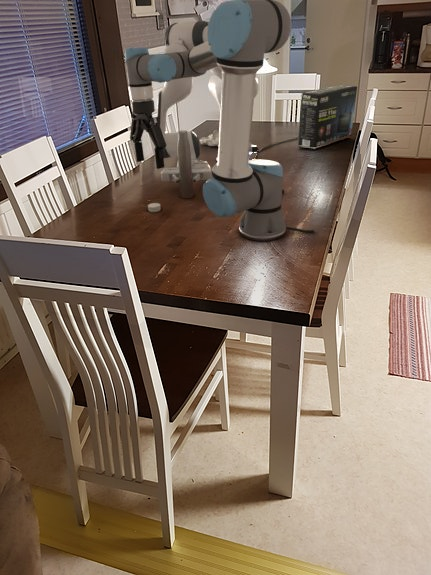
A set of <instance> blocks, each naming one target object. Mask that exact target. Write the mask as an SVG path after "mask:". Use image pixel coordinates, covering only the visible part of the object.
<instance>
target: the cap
mask: <svg viewBox="0 0 431 575" xmlns="http://www.w3.org/2000/svg"><path fill="white" fill-rule="evenodd" d="M147 210H148V212H150V213H157V212H160V211H161V210H162V209H161V203H158V202H151V203H149V204H148V205H147Z"/></svg>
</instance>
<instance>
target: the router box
mask: <svg viewBox="0 0 431 575" xmlns="http://www.w3.org/2000/svg"><path fill="white" fill-rule="evenodd" d="M357 93H358V86H356V85H350V84H339V85H338V84H337V85H334V86H328V87H324V88H318V89H314V90H309V91H304V92H301V93H300V109H299V110H300V111H299V124H298V135H297V136H298V138H297V146H298V145H302V146H307V147H317V146H320V145H323V144H325V143H328V142H331V141H333V140H336V139H338V138H341V137H344V136H347V135H351V136H352V133H353V132H352V131H353V125H354V115H355V109H356V99H357ZM311 151H313V150H312V149H311Z"/></svg>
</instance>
